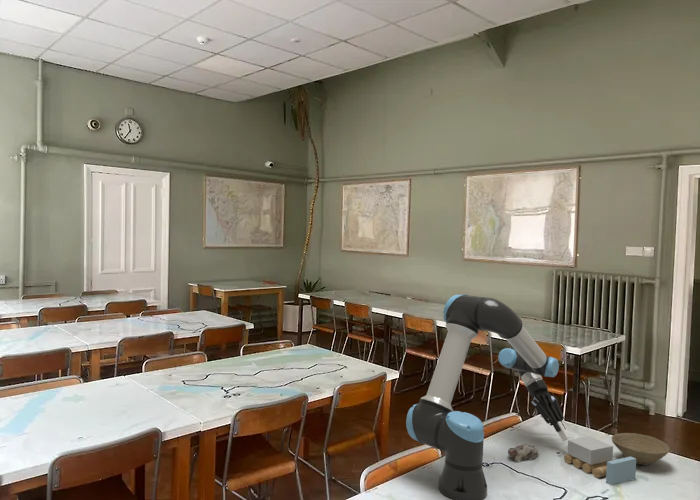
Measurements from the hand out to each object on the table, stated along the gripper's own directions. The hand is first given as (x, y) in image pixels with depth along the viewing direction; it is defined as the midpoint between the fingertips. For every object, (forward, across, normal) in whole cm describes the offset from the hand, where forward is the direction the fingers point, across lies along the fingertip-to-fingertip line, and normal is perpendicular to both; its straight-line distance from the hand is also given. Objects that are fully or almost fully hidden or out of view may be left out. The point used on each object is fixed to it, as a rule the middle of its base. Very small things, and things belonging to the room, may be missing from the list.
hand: (566, 439), depth 194 cm
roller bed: (+13, 0, +4) cm, 13 cm away
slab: (+9, 0, +6) cm, 11 cm away
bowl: (+15, -20, +7) cm, 26 cm away
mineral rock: (+1, +17, -7) cm, 19 cm away
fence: (+20, 0, +12) cm, 24 cm away
